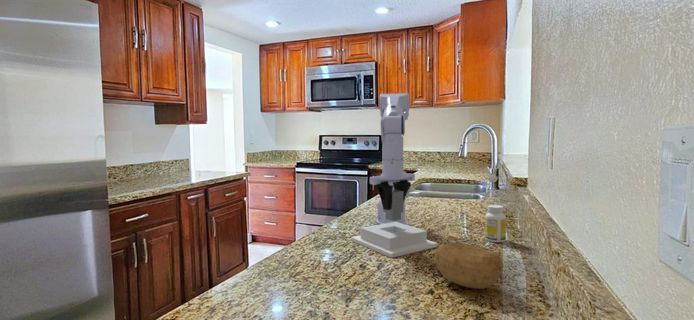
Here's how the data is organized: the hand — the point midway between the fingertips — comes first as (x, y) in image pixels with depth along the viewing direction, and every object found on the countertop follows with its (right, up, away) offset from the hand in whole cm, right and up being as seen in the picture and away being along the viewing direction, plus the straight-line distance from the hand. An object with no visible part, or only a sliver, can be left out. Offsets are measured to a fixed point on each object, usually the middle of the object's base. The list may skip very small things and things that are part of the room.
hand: (392, 208), depth 102 cm
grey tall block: (0, -3, 0) cm, 3 cm away
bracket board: (0, -10, +1) cm, 10 cm away
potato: (+11, -12, -28) cm, 32 cm away
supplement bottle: (+30, -10, +3) cm, 31 cm away
